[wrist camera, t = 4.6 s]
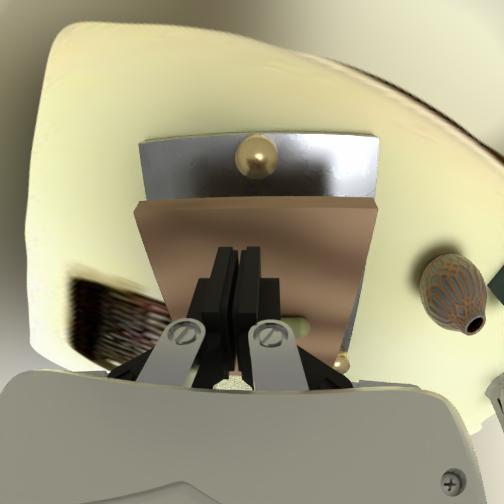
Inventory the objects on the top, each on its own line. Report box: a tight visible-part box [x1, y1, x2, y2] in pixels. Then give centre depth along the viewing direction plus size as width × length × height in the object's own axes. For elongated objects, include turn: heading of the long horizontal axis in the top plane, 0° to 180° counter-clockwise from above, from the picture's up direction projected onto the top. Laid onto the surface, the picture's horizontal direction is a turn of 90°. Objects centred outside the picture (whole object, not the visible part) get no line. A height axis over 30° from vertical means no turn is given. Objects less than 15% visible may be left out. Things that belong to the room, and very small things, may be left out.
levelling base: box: [139, 131, 380, 375], centre depth 27 cm, size 25×19×6 cm
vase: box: [420, 254, 487, 336], centre depth 25 cm, size 7×7×9 cm
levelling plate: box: [133, 196, 378, 376], centre depth 23 cm, size 20×14×3 cm
